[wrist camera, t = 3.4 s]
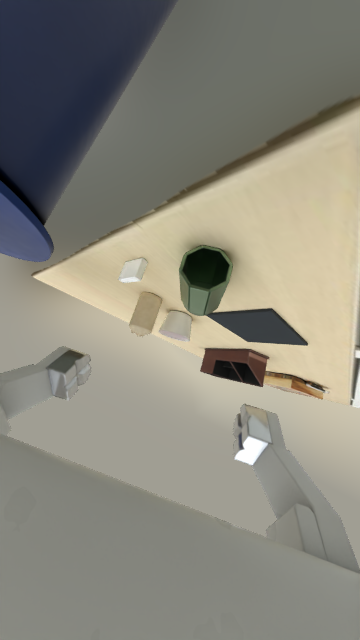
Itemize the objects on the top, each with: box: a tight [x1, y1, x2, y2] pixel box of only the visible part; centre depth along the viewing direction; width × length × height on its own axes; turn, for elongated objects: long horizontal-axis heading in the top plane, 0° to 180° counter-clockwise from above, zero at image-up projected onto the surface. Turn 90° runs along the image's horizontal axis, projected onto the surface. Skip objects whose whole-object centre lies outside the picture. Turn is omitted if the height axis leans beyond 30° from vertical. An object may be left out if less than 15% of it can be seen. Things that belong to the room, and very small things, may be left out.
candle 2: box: [159, 311, 192, 341], centre depth 55 cm, size 9×9×6 cm
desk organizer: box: [200, 349, 269, 387], centre depth 83 cm, size 10×29×11 cm, turn 152°
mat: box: [206, 309, 308, 346], centre depth 47 cm, size 20×16×1 cm
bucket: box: [179, 245, 233, 316], centre depth 28 cm, size 10×6×6 cm, turn 1°
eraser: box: [118, 258, 148, 283], centre depth 33 cm, size 1×5×4 cm, turn 126°
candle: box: [129, 292, 162, 336], centre depth 47 cm, size 6×6×10 cm
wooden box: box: [263, 372, 329, 399], centre depth 107 cm, size 25×6×28 cm
